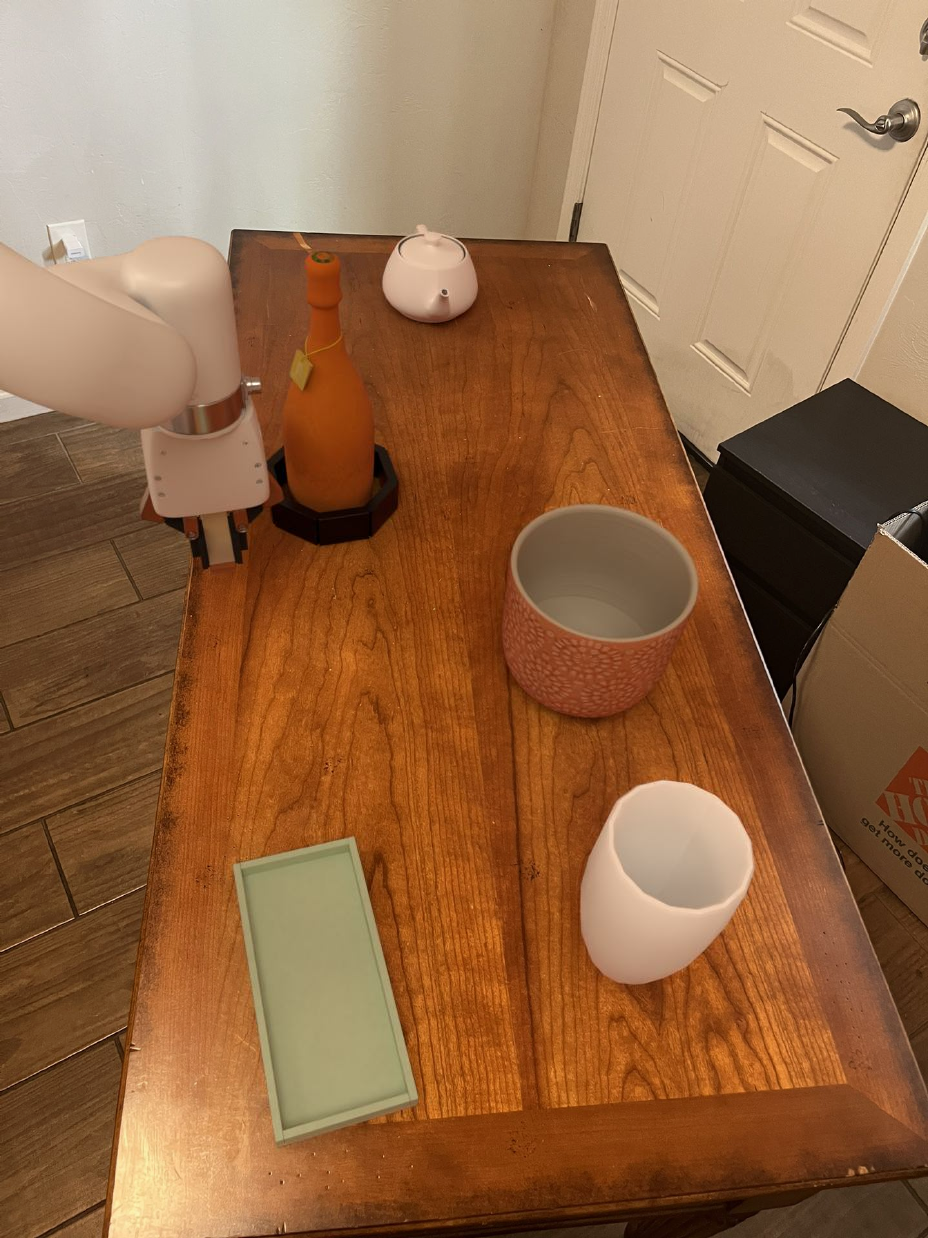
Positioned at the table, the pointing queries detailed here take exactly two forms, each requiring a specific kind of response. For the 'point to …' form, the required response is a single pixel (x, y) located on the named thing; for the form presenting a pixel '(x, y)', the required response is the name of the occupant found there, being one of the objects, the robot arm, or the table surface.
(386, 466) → the bottle stand
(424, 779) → the table surface
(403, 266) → the teapot
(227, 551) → the brush
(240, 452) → the robot arm
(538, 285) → the table surface
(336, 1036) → the tray
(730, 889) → the cup
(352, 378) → the wine bottle
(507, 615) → the planter
